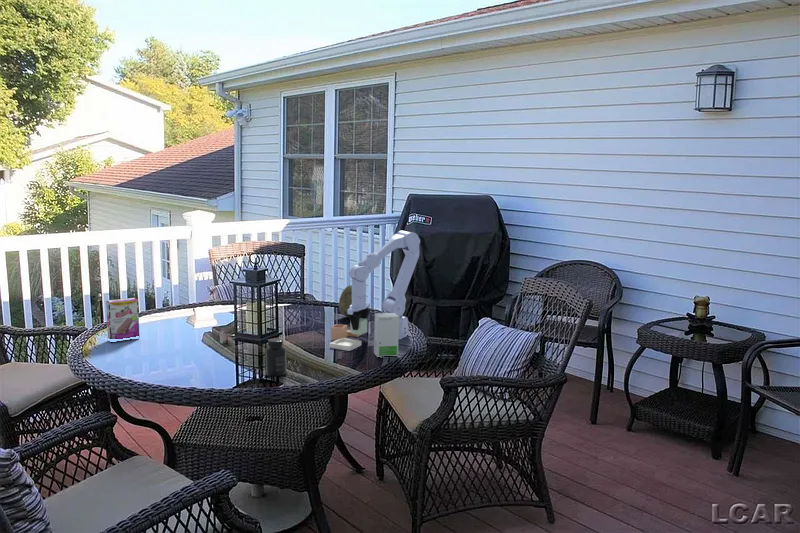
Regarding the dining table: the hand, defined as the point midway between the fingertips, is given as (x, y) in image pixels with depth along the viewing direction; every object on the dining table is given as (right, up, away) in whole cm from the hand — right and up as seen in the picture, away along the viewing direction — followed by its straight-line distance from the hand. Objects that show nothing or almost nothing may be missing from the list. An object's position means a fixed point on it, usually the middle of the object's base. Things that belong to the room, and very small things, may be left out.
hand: (358, 328), depth 264 cm
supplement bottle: (-25, -12, -42) cm, 51 cm away
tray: (-5, -6, -8) cm, 11 cm away
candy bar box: (-93, -5, -4) cm, 93 cm away
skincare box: (+11, -9, -18) cm, 23 cm away
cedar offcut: (-3, -4, +8) cm, 10 cm away
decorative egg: (-6, +1, +39) cm, 40 cm away
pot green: (0, -2, 0) cm, 2 cm away
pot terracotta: (-8, -5, +3) cm, 10 cm away
